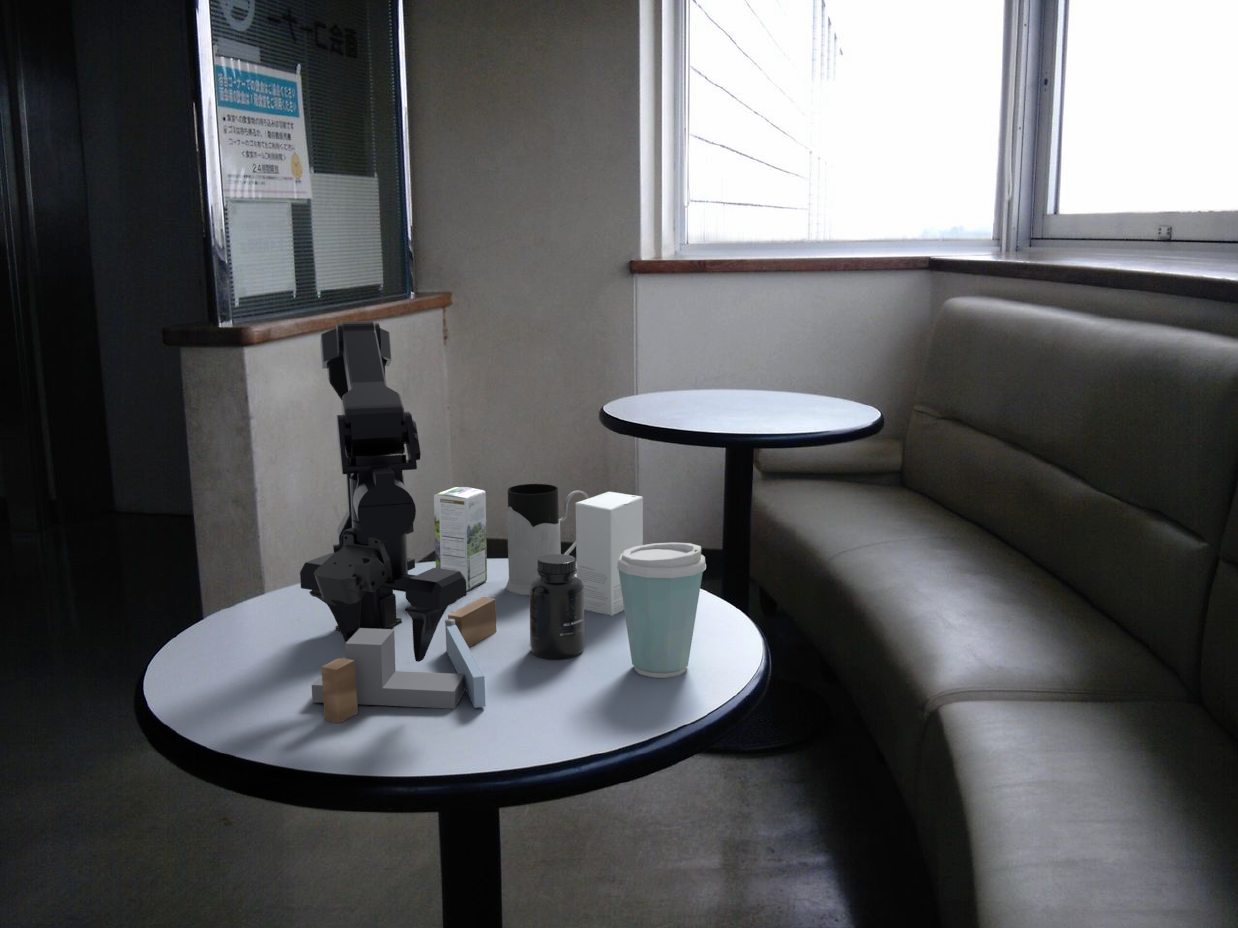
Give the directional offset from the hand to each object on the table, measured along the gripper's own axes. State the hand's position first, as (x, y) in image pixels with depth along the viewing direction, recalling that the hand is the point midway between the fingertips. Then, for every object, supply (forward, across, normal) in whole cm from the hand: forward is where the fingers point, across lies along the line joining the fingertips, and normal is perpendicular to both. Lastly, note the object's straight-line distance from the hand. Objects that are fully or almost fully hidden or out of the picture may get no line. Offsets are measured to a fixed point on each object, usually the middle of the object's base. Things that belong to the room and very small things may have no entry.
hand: (385, 654), depth 119 cm
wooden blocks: (+5, -2, +15) cm, 16 cm away
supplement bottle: (+6, +10, +21) cm, 24 cm away
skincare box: (+6, +8, +40) cm, 41 cm away
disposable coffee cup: (+5, +24, +21) cm, 33 cm away
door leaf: (+5, -2, +15) cm, 16 cm away
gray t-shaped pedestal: (+5, -2, 0) cm, 5 cm away
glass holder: (+6, -5, +46) cm, 47 cm away
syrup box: (+6, -17, +40) cm, 44 cm away
